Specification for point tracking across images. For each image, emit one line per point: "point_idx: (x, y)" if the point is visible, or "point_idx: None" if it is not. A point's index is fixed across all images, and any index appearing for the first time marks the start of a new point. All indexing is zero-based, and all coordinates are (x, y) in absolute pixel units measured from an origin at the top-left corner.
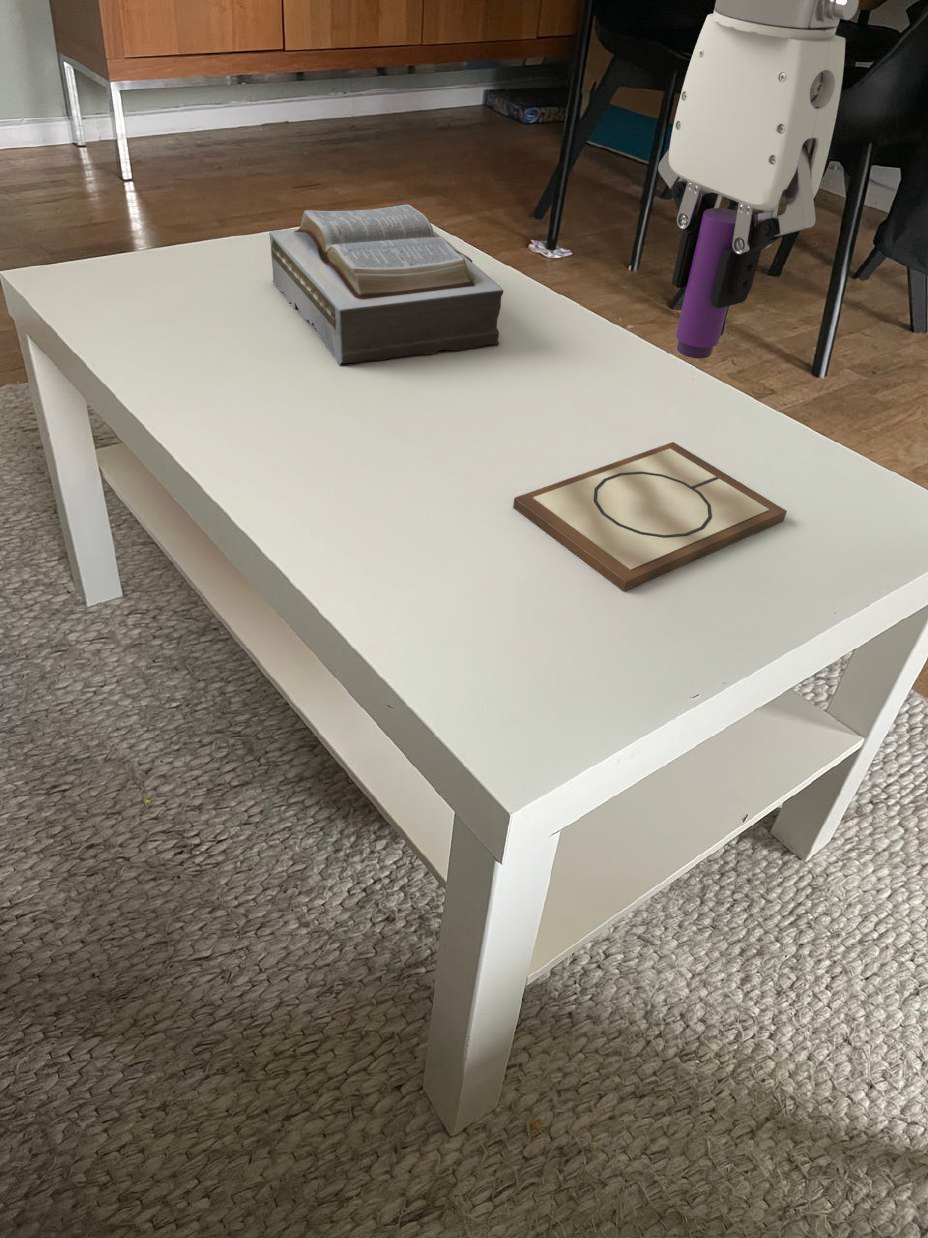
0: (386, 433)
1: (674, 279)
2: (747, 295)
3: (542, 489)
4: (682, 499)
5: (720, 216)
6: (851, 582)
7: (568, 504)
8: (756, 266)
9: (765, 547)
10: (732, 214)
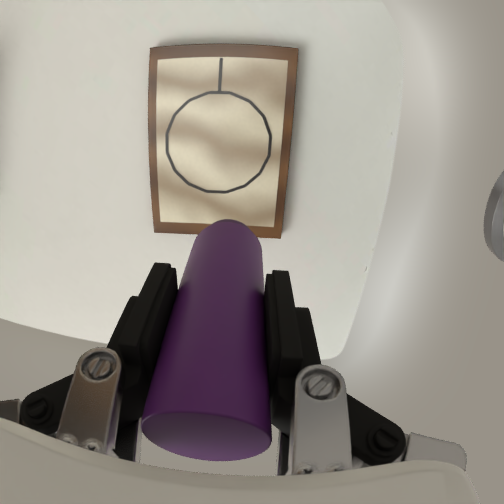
0: (51, 241)
1: None
2: (288, 273)
3: (154, 207)
4: (228, 114)
5: (203, 448)
6: (381, 88)
7: (181, 205)
8: (317, 347)
9: (312, 97)
10: (204, 433)
